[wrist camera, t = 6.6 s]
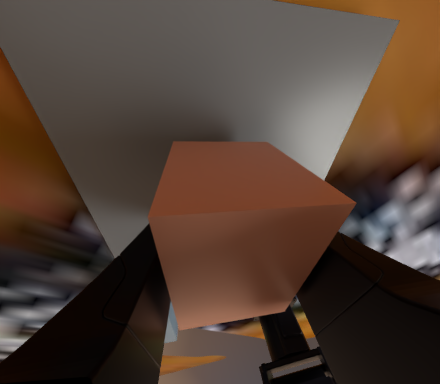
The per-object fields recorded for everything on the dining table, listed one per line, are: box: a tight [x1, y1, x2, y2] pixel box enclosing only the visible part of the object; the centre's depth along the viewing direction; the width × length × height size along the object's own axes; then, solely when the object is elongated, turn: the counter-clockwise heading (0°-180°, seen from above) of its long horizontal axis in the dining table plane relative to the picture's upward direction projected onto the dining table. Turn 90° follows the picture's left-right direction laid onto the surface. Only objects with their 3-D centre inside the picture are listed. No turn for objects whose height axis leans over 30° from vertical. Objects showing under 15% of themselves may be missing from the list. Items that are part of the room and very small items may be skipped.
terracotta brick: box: [148, 141, 356, 330], centre depth 7 cm, size 6×4×5 cm
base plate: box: [0, 0, 400, 258], centre depth 11 cm, size 16×16×1 cm
